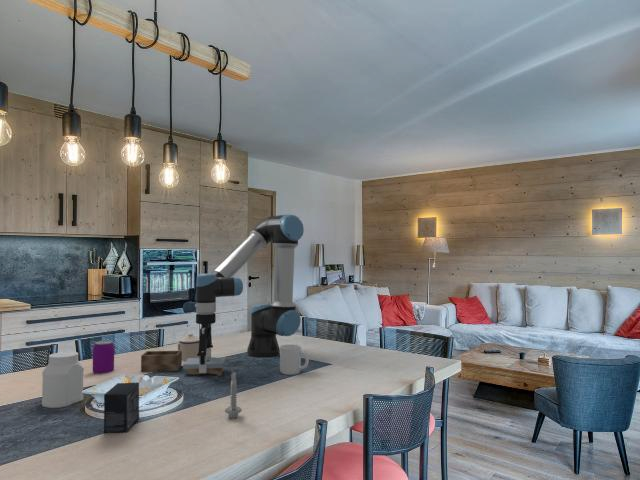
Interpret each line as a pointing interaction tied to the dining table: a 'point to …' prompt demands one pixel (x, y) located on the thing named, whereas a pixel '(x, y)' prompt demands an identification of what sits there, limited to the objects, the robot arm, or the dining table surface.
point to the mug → (292, 359)
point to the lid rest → (209, 371)
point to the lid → (211, 363)
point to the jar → (62, 380)
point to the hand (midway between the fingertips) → (205, 368)
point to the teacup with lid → (189, 347)
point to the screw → (233, 399)
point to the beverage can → (103, 357)
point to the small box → (121, 407)
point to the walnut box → (161, 361)
